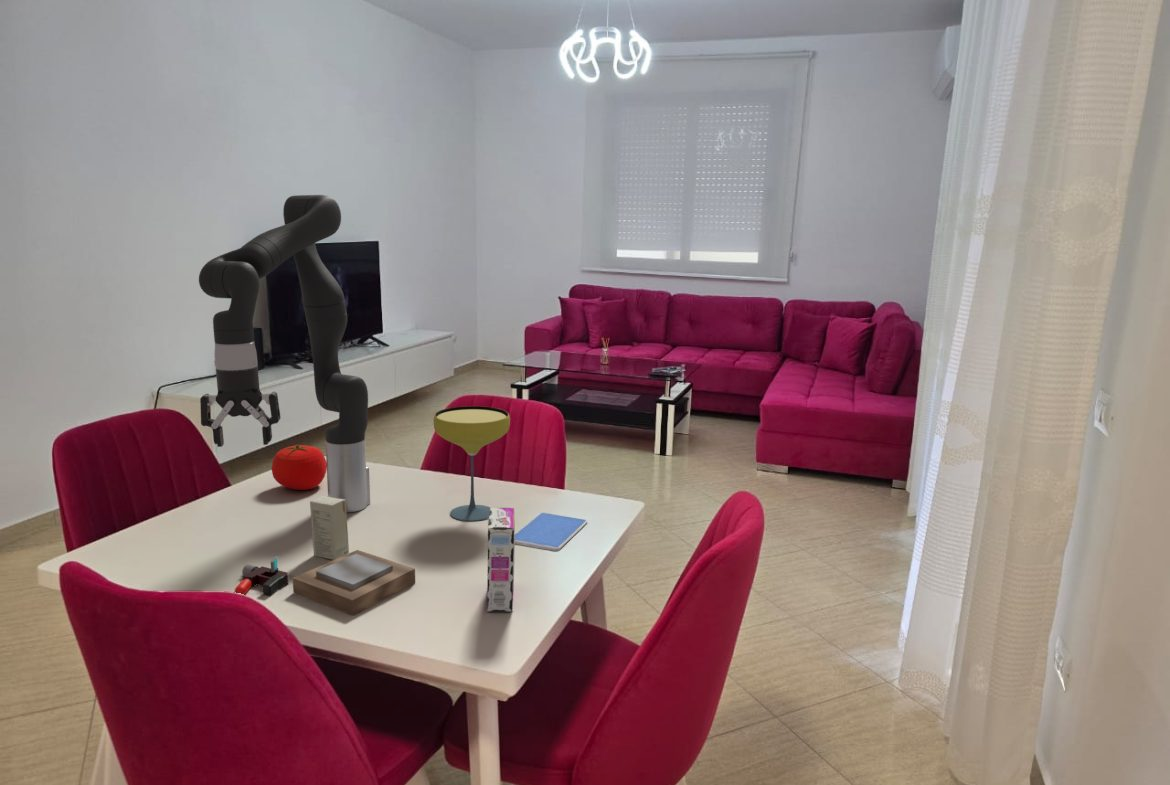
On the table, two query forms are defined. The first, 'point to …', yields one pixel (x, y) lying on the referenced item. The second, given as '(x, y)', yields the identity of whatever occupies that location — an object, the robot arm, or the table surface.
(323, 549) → the skincare box
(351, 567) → the walnut plinth
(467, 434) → the cocktail glass
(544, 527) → the tablet computer
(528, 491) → the table surface
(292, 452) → the tomato
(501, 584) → the candy bar box
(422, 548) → the table surface
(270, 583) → the toy gun
